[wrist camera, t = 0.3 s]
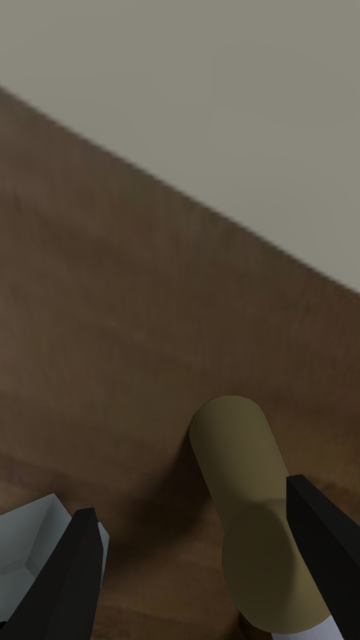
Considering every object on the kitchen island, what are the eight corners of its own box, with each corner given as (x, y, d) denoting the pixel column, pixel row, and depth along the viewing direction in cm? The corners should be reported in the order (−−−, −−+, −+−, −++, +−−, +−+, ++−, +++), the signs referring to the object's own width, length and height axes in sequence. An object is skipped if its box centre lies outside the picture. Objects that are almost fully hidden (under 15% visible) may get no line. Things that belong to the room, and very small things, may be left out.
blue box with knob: (128, 549, 24) (122, 629, 19) (15, 597, 24) (-20, 687, 19) (82, 480, 22) (61, 550, 17) (-42, 533, 22) (-98, 617, 17)
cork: (267, 457, 23) (367, 645, 12) (192, 469, 22) (228, 674, 12) (265, 389, 21) (380, 538, 10) (184, 401, 21) (218, 568, 10)
